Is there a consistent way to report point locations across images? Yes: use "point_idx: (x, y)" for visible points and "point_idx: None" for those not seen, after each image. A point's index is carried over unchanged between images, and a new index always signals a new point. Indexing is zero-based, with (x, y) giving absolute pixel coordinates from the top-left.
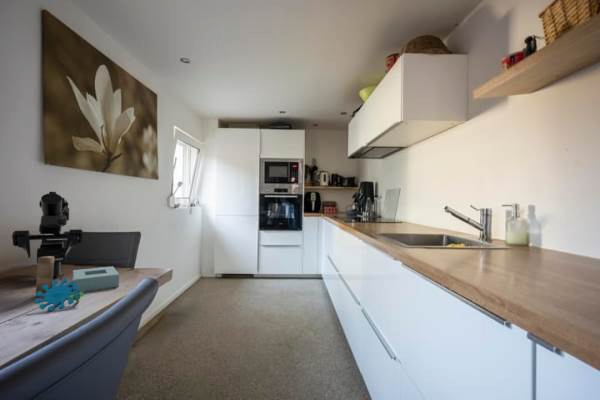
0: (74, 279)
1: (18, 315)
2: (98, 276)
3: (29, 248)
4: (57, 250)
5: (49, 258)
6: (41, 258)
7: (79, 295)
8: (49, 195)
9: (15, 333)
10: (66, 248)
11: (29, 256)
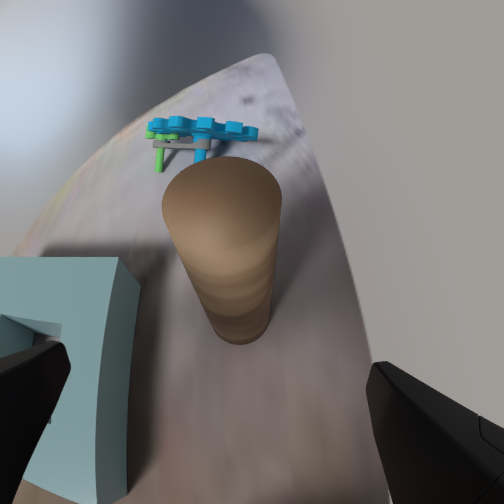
0: (118, 259)
1: (288, 146)
2: (41, 261)
3: (433, 415)
4: None
5: (201, 162)
6: (253, 162)
7: (156, 134)
8: None
9: (275, 84)
10: (7, 363)
11: (374, 364)
